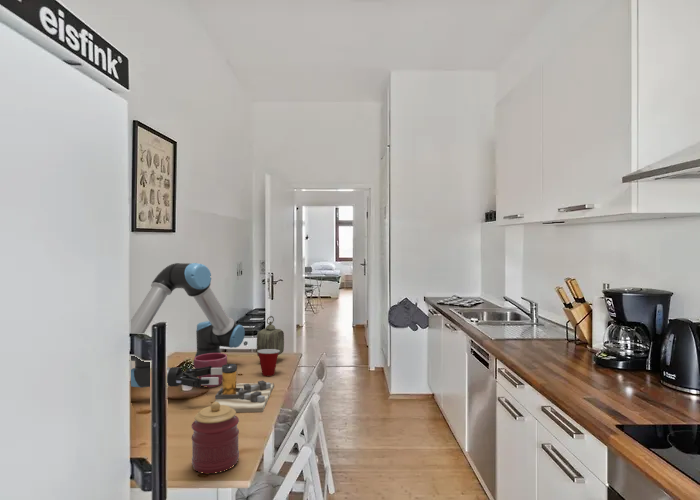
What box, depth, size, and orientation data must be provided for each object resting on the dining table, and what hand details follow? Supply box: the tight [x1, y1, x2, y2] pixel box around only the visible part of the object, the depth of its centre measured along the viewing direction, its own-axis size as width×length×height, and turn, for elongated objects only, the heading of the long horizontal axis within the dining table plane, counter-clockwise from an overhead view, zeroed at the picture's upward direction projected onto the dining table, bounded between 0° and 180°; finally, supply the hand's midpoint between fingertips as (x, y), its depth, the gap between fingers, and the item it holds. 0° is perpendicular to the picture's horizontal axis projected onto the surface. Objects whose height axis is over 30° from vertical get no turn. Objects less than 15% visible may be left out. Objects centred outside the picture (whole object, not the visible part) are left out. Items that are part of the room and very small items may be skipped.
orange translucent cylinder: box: [221, 363, 238, 395], centre depth 175 cm, size 6×6×12 cm
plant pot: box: [193, 352, 228, 389], centre depth 193 cm, size 14×14×13 cm
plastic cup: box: [256, 349, 280, 377], centre depth 208 cm, size 11×11×12 cm
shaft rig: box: [214, 379, 275, 414], centre depth 175 cm, size 30×20×4 cm
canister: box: [191, 401, 240, 473], centre depth 122 cm, size 13×13×18 cm
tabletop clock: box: [256, 315, 285, 358], centre depth 230 cm, size 14×9×25 cm, turn 160°
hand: (222, 375), depth 174 cm, fingers open, 13 cm apart
